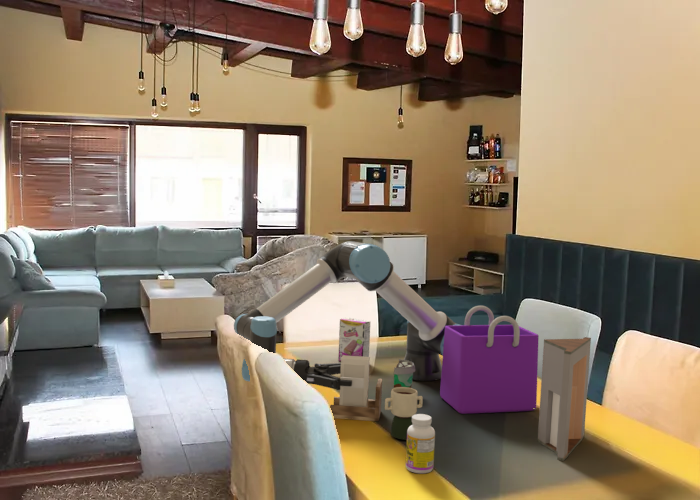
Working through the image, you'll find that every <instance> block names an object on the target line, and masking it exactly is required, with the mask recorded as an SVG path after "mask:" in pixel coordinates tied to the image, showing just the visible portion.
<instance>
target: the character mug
mask: <svg viewBox="0 0 700 500" xmlns="http://www.w3.org/2000/svg"><path fill="white" fill-rule="evenodd" d="M418 394H419V393H418V390H417V389H415V388H412V387H411V388H408V387H396V388H394V387H393V388H391V391H390V397H386V398H385V399H384V410H385V411H390V412H391V414H392V415H393V418H392V423H391V430H390V436H392V437H393V438H396V439H398V440H402V441H404V440H405V441H407V430H408V428H409V427H410V426H411V425H413V423H412V416H413V415H415V414H417V412H418V409H421V408H423V402H424V401H423V399H424V398H423V396H422V395H418ZM389 402H390V406H389Z"/></svg>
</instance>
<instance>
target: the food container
mask: <svg viewBox="0 0 700 500" xmlns="http://www.w3.org/2000/svg"><path fill="white" fill-rule="evenodd" d="M413 372H415V366H414V363H413V362H411V361H408V360H404V359H401V358H400V359H399V358H398V362H397V364H396V367H394V369H393V388H396V387H408V388H412V387H413V386H412V385H413V379H412V378H413Z"/></svg>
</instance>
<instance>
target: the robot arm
mask: <svg viewBox="0 0 700 500" xmlns="http://www.w3.org/2000/svg"><path fill="white" fill-rule="evenodd" d="M394 267H395V266H394V264H393V263H392V262H391V260H390V256H389V255H388V253H387V252H386V250H384V249H383V248H382V247H381V246H378V245H376V244H373V243H366V242H365V243H364V242H360V241H354V240H348V241H344V242H342V243H340V244H338V245H336V246H334V247H333V248H331V249H330V250H328V251H327V252H325V253H324V254H322V256H320V257H318V258H317V260H316V264H314V265H313V266H312V267H310V268H309V269H308V270H306V271H305V272H304V273H302V274H301V275H299V276H298V277H297V278H296V279H294V280H293V281H292V282H290V283H289V284H287V286H285V287H283V288H282V289H281V290H279V291H278V292H277V293H276V294H274V295H273V296H272V297H270V298H269V299H267V300H266V301H265V302H263V303H262V304H261V305H259V306H258V307H257V308H255V309H254V310H252V311H251V312H249V313H242V314H240V315H239V316H237V317H236V318H235V320H234V322H233V330H234V333H235V334H236V333H237V334H239V335H241V336H243V337H244V338H246V339H248V340H250V341H251V342H252V343H254V344H256V345H258V346H261V347H262V348H264V349H267V350H268V351H269V352H273V353H277V351H276V349H277V333H278V328H277V323H278V322H279V321H281V320H283V319H284V318H285V317H286V316H287V315H289V314H290V313H292V312H293V311H294V310H296V309H297V308H298V307H300V306H301V305H302V304H304V303H305V302H307V301H308V300H309V299H310V298H311V297H313V296H315V295H316V294H317V293H318V292H320V291H321V290H322V289H324V288H325V287H326V286H328V285H329V284H332V283H333V284H335V283H337V282H339V280H341V279H344V278H347V277H348V278H351V279H354V280H355V281H356V282H358V283H359V284H360V285H361V286H363V288H365V289H366V290H367V291H368V292H375V293H377V294H378V295H379V296H380V297H381V298H382V299H384V300H385V301H386V302H387V303H388V304H389V305H390V306H392V308H393V309H394V310H396V312H398V313H399V314H400V315H401V316H402V317H403V318H404V319H405V320H407V322H406V325H407V327H406V352H405V356H404V358H403V360H408V361H411V362H413V363H414V366H415V372H413V378H412V381H413V380H414V381H422V382H425V381H426V382H428V381H439V380H441V374H442V362H441V358H440V356H442V357H443V347H444V334H445V326H454V325H461V324H459V323H456V322H454V321H453V319H451V318H450V317H449V316H448V315H447V314H446V313H445V312H443V311H437V310H435V309H434V308H433V307H432V306H431V305H430V304H429V303H428V302H427V301H425V300H424V298H423V297H421V296H420V295H419V294H418V293H417V292H416V291H415V290H414V289H413V288H412V287H411V286H410V285H409V284H407V283H406V281H405V280H404V279H402V278H401V277H400V276H399V275H398V274H397V273H396V272H395V271H394V270H395V269H394ZM237 334H236V335H237ZM283 359H284V360H285V361H286V363H287V364H288V365H289V366H290V367H291V368H292V369H293V370H294V371H295V372H296V373H297V374H298V375H299V376H300V377H301V378H302V379H303V380H305V381H306V382H307V383H308V384H307V385H316V386H320V387H323V388H329V389H332V390H336V391H340V386H341V387H350V388H364V378H351V377H341V378H340V377H338V376H335V375H340V373H341V362H331V363H330V362H329V363H314V364H313V365H314V366H311V365H310V361H309V360H308V359H294V358H284V357H283ZM241 377H242V379H243V380H244V381H246V382H250V375H249V370H248V366H247V364H246V361H245V359H244V358H243V361H242V366H241Z"/></svg>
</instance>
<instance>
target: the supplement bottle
mask: <svg viewBox="0 0 700 500" xmlns="http://www.w3.org/2000/svg"><path fill="white" fill-rule="evenodd" d="M432 419H433V418H432V416H430V415H428V414H424V413H416V414H415V415H413V416H412V423H413V425H411V426H410V427H409V428H408V430H407V440H406V451H405V453H406V454H405V468H406V469H407V470H408V471H409V472H411V473H414V474H419V475H420V474H428V473H431V472H432V471H433V470H434V465H435V463H434V462H435V441H436V431H435V429H434V427H432V425H431V424H432V422H433V421H432Z"/></svg>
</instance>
